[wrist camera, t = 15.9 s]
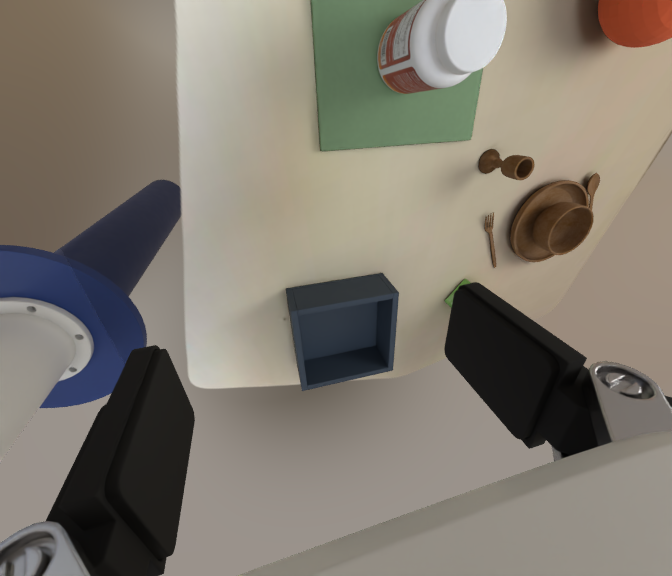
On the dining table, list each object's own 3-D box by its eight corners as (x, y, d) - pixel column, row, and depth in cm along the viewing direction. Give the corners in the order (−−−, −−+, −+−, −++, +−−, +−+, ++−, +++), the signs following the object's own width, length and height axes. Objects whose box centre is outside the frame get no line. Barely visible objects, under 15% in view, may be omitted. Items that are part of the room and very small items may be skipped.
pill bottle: (441, 72, 31) (524, 55, 22) (389, 106, 31) (449, 103, 22) (421, -1, 28) (510, -59, 18) (364, 38, 28) (422, 1, 19)
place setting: (492, 279, 48) (520, 298, 43) (472, 158, 37) (507, 165, 32) (590, 227, 48) (630, 240, 43) (600, 89, 37) (654, 85, 32)
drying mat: (320, 150, 32) (321, 151, 32) (306, -67, 24) (307, -71, 24) (468, 139, 36) (471, 140, 35) (500, -55, 28) (504, -58, 27)
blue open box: (296, 363, 46) (302, 391, 42) (285, 288, 40) (290, 311, 35) (379, 346, 49) (393, 370, 44) (382, 272, 42) (399, 292, 38)
